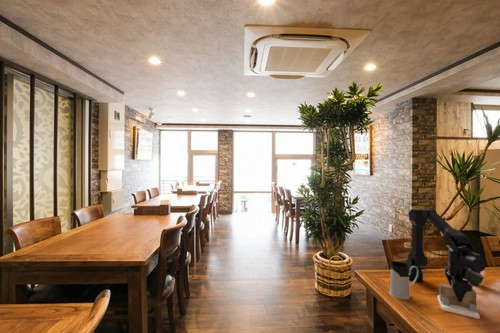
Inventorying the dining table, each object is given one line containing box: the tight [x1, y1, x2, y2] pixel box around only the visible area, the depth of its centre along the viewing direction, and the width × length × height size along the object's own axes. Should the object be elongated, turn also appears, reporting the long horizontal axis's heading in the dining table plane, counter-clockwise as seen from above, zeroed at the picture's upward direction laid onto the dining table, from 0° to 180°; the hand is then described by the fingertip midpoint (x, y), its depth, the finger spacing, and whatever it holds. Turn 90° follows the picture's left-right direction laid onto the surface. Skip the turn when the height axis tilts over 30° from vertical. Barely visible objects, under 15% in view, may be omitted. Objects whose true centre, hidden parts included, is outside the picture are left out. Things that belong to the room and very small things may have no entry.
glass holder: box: [388, 260, 419, 301], centre depth 116 cm, size 9×14×15 cm, turn 95°
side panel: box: [437, 294, 480, 320], centre depth 105 cm, size 12×11×4 cm
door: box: [438, 282, 477, 308], centre depth 105 cm, size 12×3×7 cm, turn 60°
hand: (456, 296), depth 105 cm, fingers open, 9 cm apart
